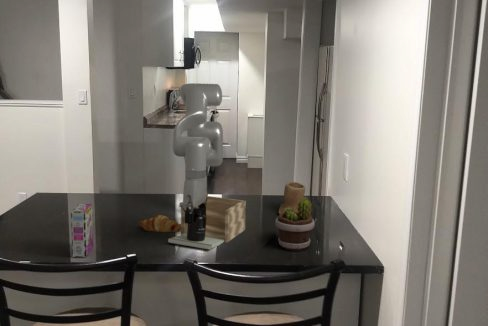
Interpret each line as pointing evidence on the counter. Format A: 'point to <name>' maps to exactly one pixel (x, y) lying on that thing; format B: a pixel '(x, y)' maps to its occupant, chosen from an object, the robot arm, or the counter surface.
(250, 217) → the counter surface
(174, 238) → the panel
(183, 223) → the crate
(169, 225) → the croissant
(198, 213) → the supplement bottle
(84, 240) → the candy bar box
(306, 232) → the flowerpot
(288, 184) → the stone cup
